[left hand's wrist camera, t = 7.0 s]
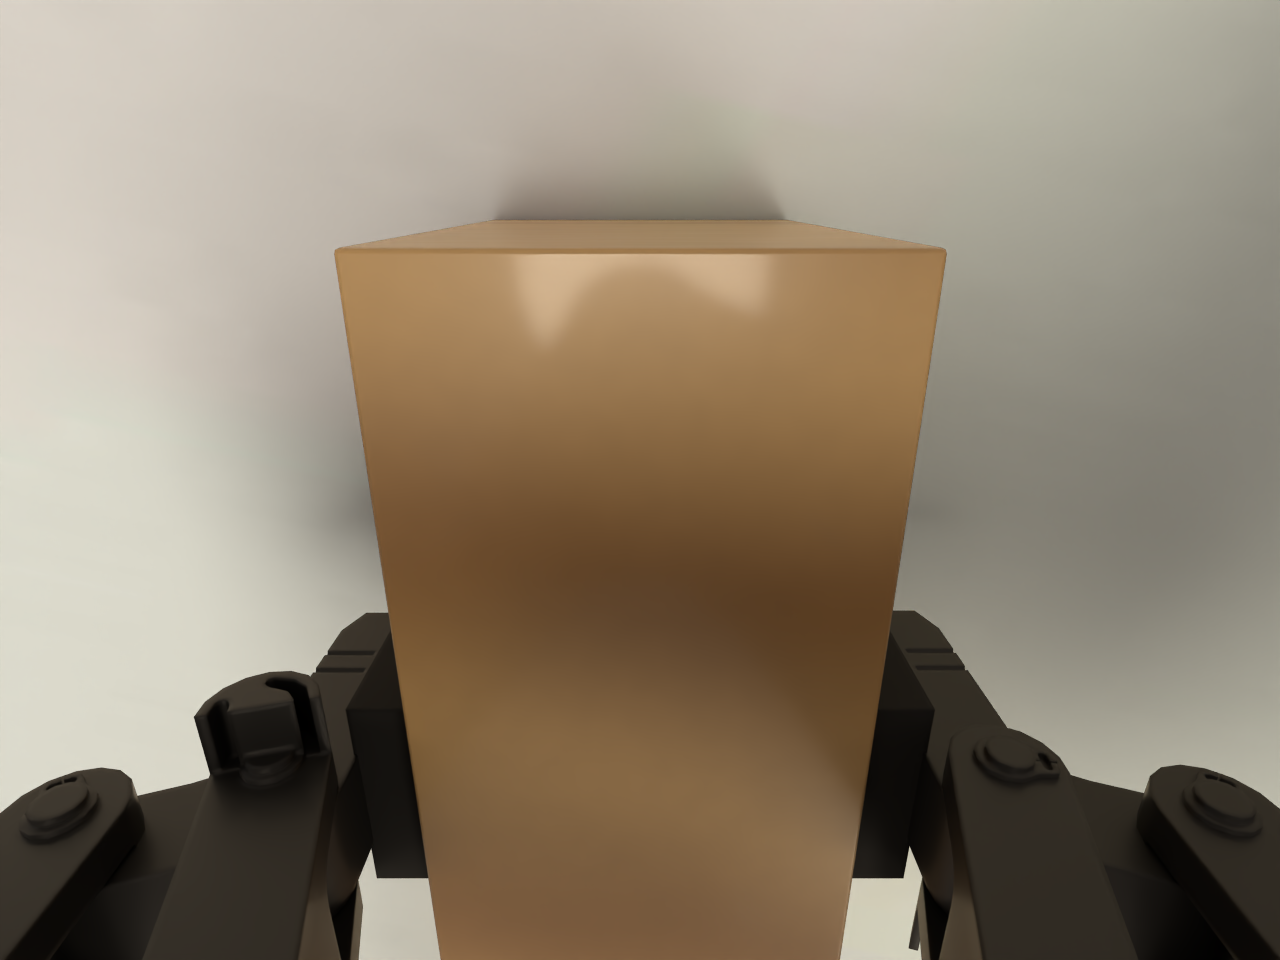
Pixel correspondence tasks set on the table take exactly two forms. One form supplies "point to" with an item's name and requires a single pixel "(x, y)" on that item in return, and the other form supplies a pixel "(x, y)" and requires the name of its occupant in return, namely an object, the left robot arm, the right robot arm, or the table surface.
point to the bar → (640, 567)
